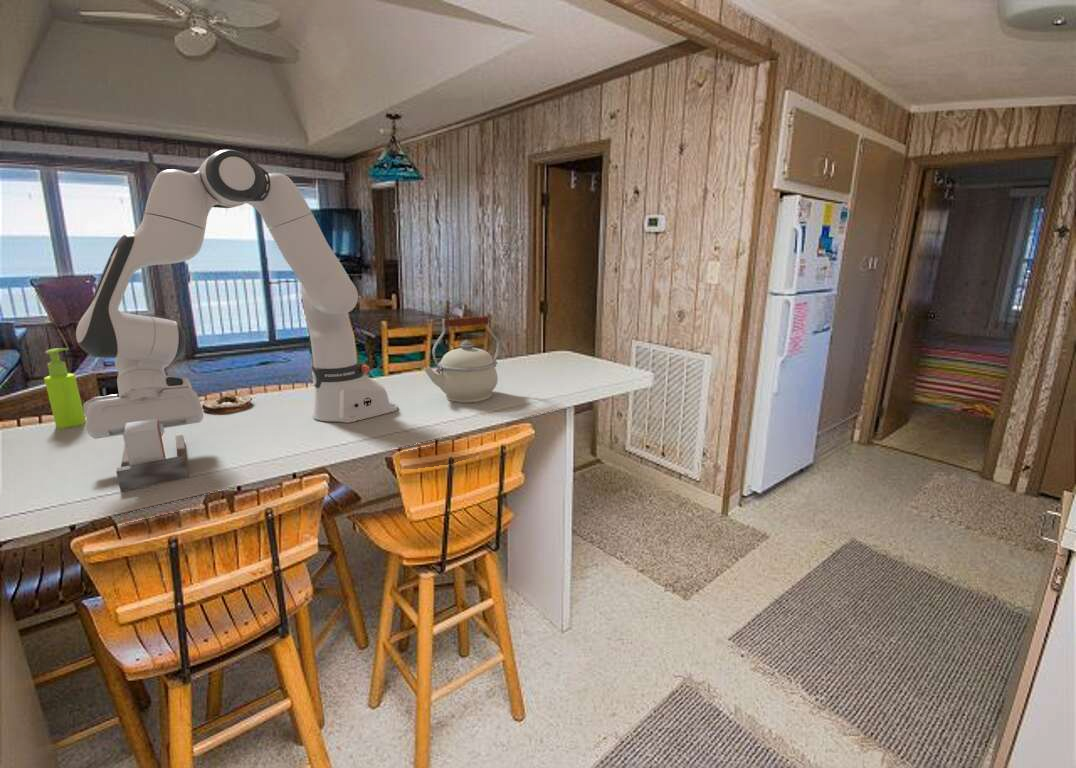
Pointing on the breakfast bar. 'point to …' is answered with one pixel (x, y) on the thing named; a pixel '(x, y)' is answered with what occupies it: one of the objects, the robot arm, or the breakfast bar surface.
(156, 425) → the small box
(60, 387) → the soap dispenser
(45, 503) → the breakfast bar surface
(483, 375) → the kettle
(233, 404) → the brown speckled ring
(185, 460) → the guide channel
